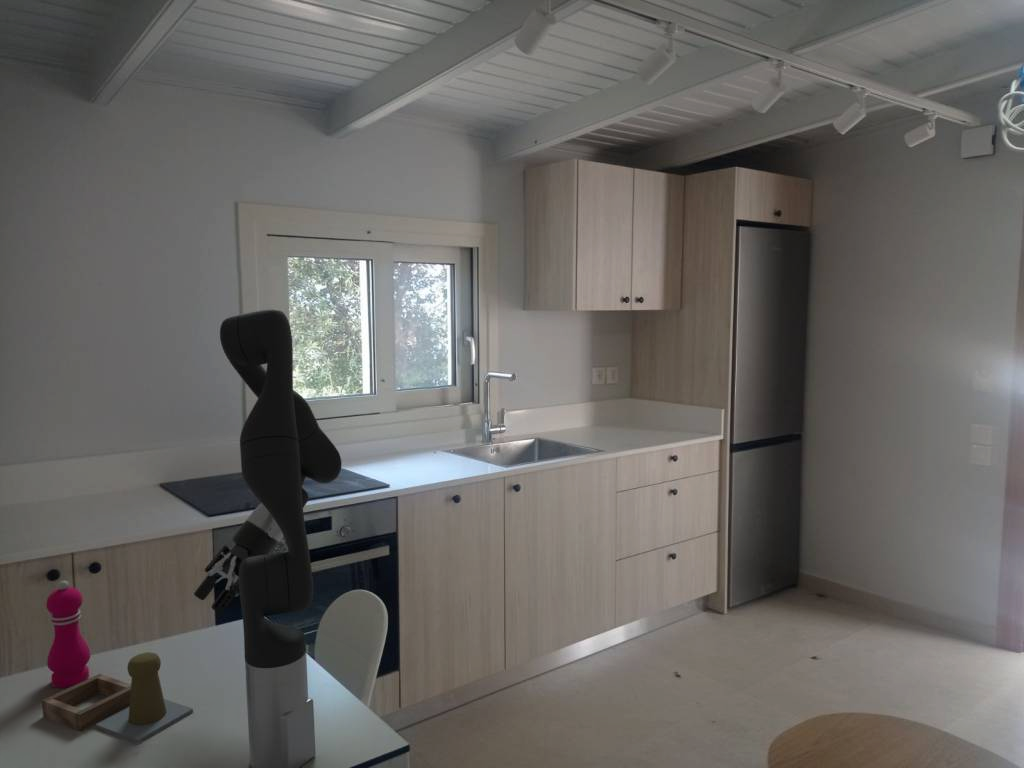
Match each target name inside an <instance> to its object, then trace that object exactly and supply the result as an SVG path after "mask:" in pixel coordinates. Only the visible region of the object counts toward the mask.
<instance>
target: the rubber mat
mask: <svg viewBox="0 0 1024 768" xmlns="http://www.w3.org/2000/svg"><path fill="white" fill-rule="evenodd" d="M164 702H165V707H166V711H167V712H166V715H165V716H164V717H163V718H161V719H160V720H158V721H156V722H154V723H150V724H147V725H133V724H131V723H129V720H128V719H129V707H127V708H125V709H123V710H121V711H119V712H118V713H116V714H114V715H112V716H110V717H108V718H106V719H104V720H102V721H100V722H98V723H96V724H95V729H98V730H101V731H104V732H107V733H109V734H111V735H114V736H117V737H119V738H122V739H124V740H127V741H130V742H133V743H135V744H137V745H138V744H139V743H142V742H143V741H145V740H146V739H148V738H150V737H152V736H154V735H156V734H157V733H159V732H160V731H162V730H164V729H165V728H167V727H170V726H171V725H173V724H174V723H176V722H178V721H179V720H182V719H183V718H185V717H186V716H188V715H190V714H192V713H193V712H194V709H193V708H192V707H189V706H187V705H183V704H180V703H178V702H174V701H171V700H168V699H165V698H164Z"/></svg>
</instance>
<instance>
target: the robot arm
mask: <svg viewBox="0 0 1024 768" xmlns="http://www.w3.org/2000/svg"><path fill="white" fill-rule="evenodd" d="M290 325H291V324H290V322H289V319H288V317H287V315H286V314H285V312H284V311H283V310H281V309H280V308H275V307H273V308H267V309H266V308H265V309H261V310H256V311H255V310H254V311H250V312H246V313H241V314H237V315H233V316H229V317H227V318H225V319H224V320H222V323H221V325H220V327H219V340H220V344H221V347H222V350H223V352H224V355H225V357H226V358H227V360H228V361H229V363H230V365H231V366H232V367H233V369H234V370H235V371H236V373H237V374H238V375H239V376H240V378H241V379H242V380H243V381H244V382H245V384H246V385H247V387H248V388H249V389H250V390H251V392H252V393H253V394H254V395H255V396H256V397H257V400H256V401H255V404H254V406H252V409H251V411H250V412H249V415H248V416H247V418H246V420H245V422H244V424H243V426H242V429H241V431H240V432H241V433H240V437H239V449H240V451H239V452H240V462H241V463H240V465H241V466H240V468H241V474H242V475H241V476H242V478H243V479H244V482H245V484H246V485H247V487H248V488H249V490H250V491H251V492H252V493H253V494H254V496H255V497H256V498H257V499H258V501H259V502H260V504H258V506H257V507H255V509H254V510H253V511H252V512H251V513H250V514H249V516H248V517H247V519H245V521H244V522H243V524H241V526H240V527H239V529H238V530H237V531H236V533H234V535H233V536H232V542H233V543H235V545H234V546H233V547H232V548H231V547H230V546H228V545H226V544H225V545H223V546H222V547H221V548H220V550H219V551H218V552H217V554H215V556H214V557H213V558H212V560H211V561H210V562H209V563H208V564H207V566H206V567H205V568H204V572H206V574H205V578H204V579H203V581H202V583H200V585H199V586H198V587H197V589H196V590H194V594H193V595H194V596H195V597H196V598H198V599H199V600H201V601H204V600H205V599H206V598H207V597H208V595H209V594H210V593H211V592H212V590H213V589H214V588H215V586H216V585H217V583H218V582H220V581H221V580H223V579H227V583H226V586H225V589H223V590H222V591H221V593H220V594H219V595H218V597H217V598H216V599H215V600H214V602H213V603H212V604H211V609H212V610H214V612H217V613H218V614H222V613H223V612H224V611H225V610H226V609H227V606H228V605H230V603H231V602H232V600H233V599H234V597H238V596H239V599H240V607H241V609H240V610H241V616H242V625H243V626H242V627H243V645H244V647H243V649H244V666H245V688H246V689H245V690H246V709H247V722H248V723H247V724H248V725H247V726H248V729H247V730H248V745H249V762H250V763H249V764H250V768H301V767H302V766H304V765H305V764H307V762H309V761H310V760H311V759H313V757H315V756H316V752H317V751H316V735H315V733H316V732H315V729H316V728H315V710H314V707H315V706H314V699H313V698H310V697H309V693H308V692H309V688H308V687H309V686H308V683H309V682H308V666H307V665H308V663H307V662H308V660H307V645H306V644H307V640H306V636H305V633H304V632H303V631H302V630H301V629H299V628H297V627H295V626H292V625H287V624H282V623H277V622H275V621H272V620H270V619H268V618H266V617H269V616H275V615H280V614H282V615H283V614H288V613H293V612H300V611H305V610H307V609H308V608H310V607H311V604H312V602H313V599H314V577H313V570H312V564H311V563H312V562H311V556H310V550H309V549H310V548H309V543H308V537H307V536H308V534H307V529H306V521H305V514H304V507H305V506H306V505H307V503H308V502H309V493H308V492H307V491H306V490H305V489H304V488H303V484H304V482H305V480H306V478H308V479H309V480H312V481H314V482H316V483H320V484H329V483H331V482H333V481H335V480H336V479H337V478H338V477H339V475H340V473H341V470H342V466H343V465H342V458H341V457H342V456H341V455H340V452H339V451H338V449H337V447H336V446H335V445H334V444H333V442H332V441H331V439H330V438H329V437H328V436H327V435H326V433H325V432H324V431H323V430H322V429H321V427H320V426H319V423H318V421H317V419H316V416H315V414H314V412H313V411H312V408H311V406H310V404H309V403H308V402H307V400H306V399H305V398H304V397H303V396H302V395H301V394H299V393H298V392H297V391H295V389H294V372H293V371H294V369H293V368H294V359H293V358H294V357H293V356H294V353H293V352H294V351H293V336H292V335H293V334H292V328H291V326H290ZM263 365H266V369H265V367H264V366H263ZM283 538H284V540H285V543H286V545H287V546H286V547H287V551H286V552H276V553H272V552H273V551H274V549H275V548H276V547H277V545H278V544H279V543H280V542H281V540H282V539H283Z"/></svg>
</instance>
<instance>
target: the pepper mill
mask: <svg viewBox="0 0 1024 768" xmlns="http://www.w3.org/2000/svg"><path fill="white" fill-rule="evenodd" d="M69 584H70V583H69V582H68V581H67V580H61V581H59V583H58V585H57V587H58V589H56V590H53V591H52V592H51V593H50V594H49V596H48V597H47V599H46V604H45V605H46V609H47V611H48V613H50V614H51V615H50V619H51V620H50V624H51V625H52V626H53V628H54V638H53V641H52V645H51V647H50V649H49V652H48V656H47V661H46V662H47V663H46V665H47V667H48V670H50V671H51V672H52V674H51V685H52V687H54V688H58V689H64V688H70V687H72V686H74V685H76V684H79V683H81V682H83V681H85V680H87V679H89V677H90V672H89V670H90V669H89V666H88V665H87V664H88V663H89V661H90V659H91V651H90V648H89V645H88V643H87V642H86V641H85V639H84V638H83V636H82V634H81V630H80V627H79V620H80V619H81V617H82V615H81V613H82V612H81V611H82V610H81V609H79V608H81V607H82V604H83V595H82V593H81V591H80V590H79V589H77V588H75V587H71V586H69Z"/></svg>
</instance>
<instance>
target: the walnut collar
mask: <svg viewBox="0 0 1024 768" xmlns="http://www.w3.org/2000/svg"><path fill="white" fill-rule="evenodd" d="M98 694H100V695H102V696H105V698H104V699H101V700H99V701H97V702H95V703H94V704H92V705H89V706H87V707H85V708H83V709H81V708H78V707H76V705H78V704H79V703H82V702H83V701H85V700H88V699H90V698H92V697H94V696H96V695H98ZM130 694H131V683H129V682H125V681H122V680H119V679H116V678H113V677H111V676H107V675H104V674H101V673H98V674H96V675H93V676H92V677H90V678H89V677H88V678H87V680H85V681H83V682H81V683H79V684H76V685H74V686H71V687H67V688H66V689H63V690H61V691H60V692H57V693H55V694H53V695H51V696H49V697H46V698H44V699H42V700H41V706H42V717H43V718H46V719H49V720H51V721H53V722H56V723H59V724H62V725H63V726H66V727H69V728H70V729H74V730H76V731H78V732H83V731H85V730H87V729H88V728H91V727H93V726H94V725H95V724H97V723H99V722H101V721H103V720H105V719H106V718H108V717H110V716H112V715H114V714H116V713H118V712H120V711H122V710H124V709H126V708H128V707H129V706H130ZM95 726H96V725H95Z"/></svg>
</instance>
